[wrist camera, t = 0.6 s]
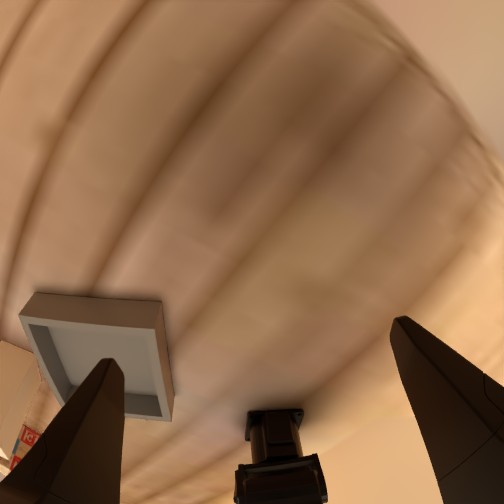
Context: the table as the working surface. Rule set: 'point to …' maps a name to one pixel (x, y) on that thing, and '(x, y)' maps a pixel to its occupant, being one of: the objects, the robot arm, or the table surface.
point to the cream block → (15, 392)
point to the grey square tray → (102, 347)
